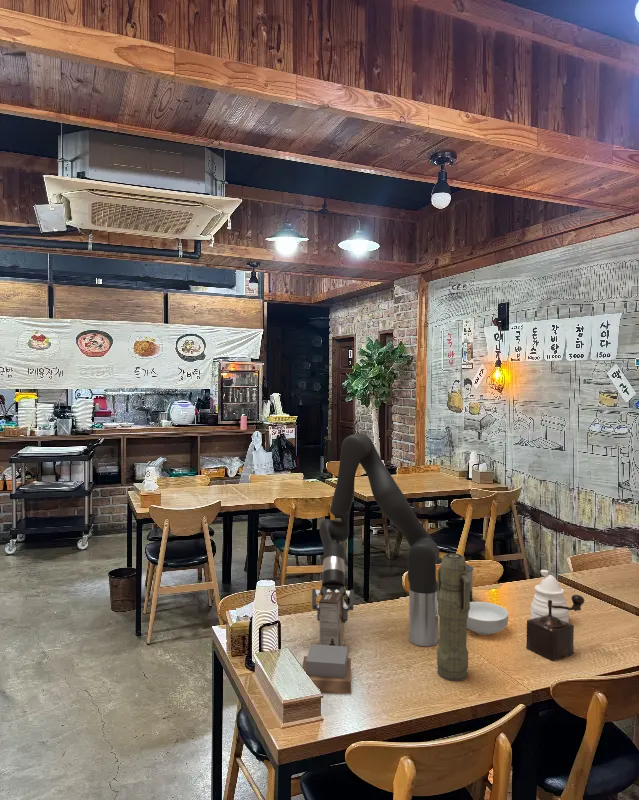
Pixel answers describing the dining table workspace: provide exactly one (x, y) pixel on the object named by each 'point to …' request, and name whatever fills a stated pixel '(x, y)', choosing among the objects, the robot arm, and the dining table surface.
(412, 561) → the robot arm
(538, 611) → the honey pot
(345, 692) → the walnut base block
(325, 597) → the coffee box
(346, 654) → the grey square block
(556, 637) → the manual coffee grinder
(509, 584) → the dining table surface
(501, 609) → the cereal bowl
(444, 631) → the thermos
